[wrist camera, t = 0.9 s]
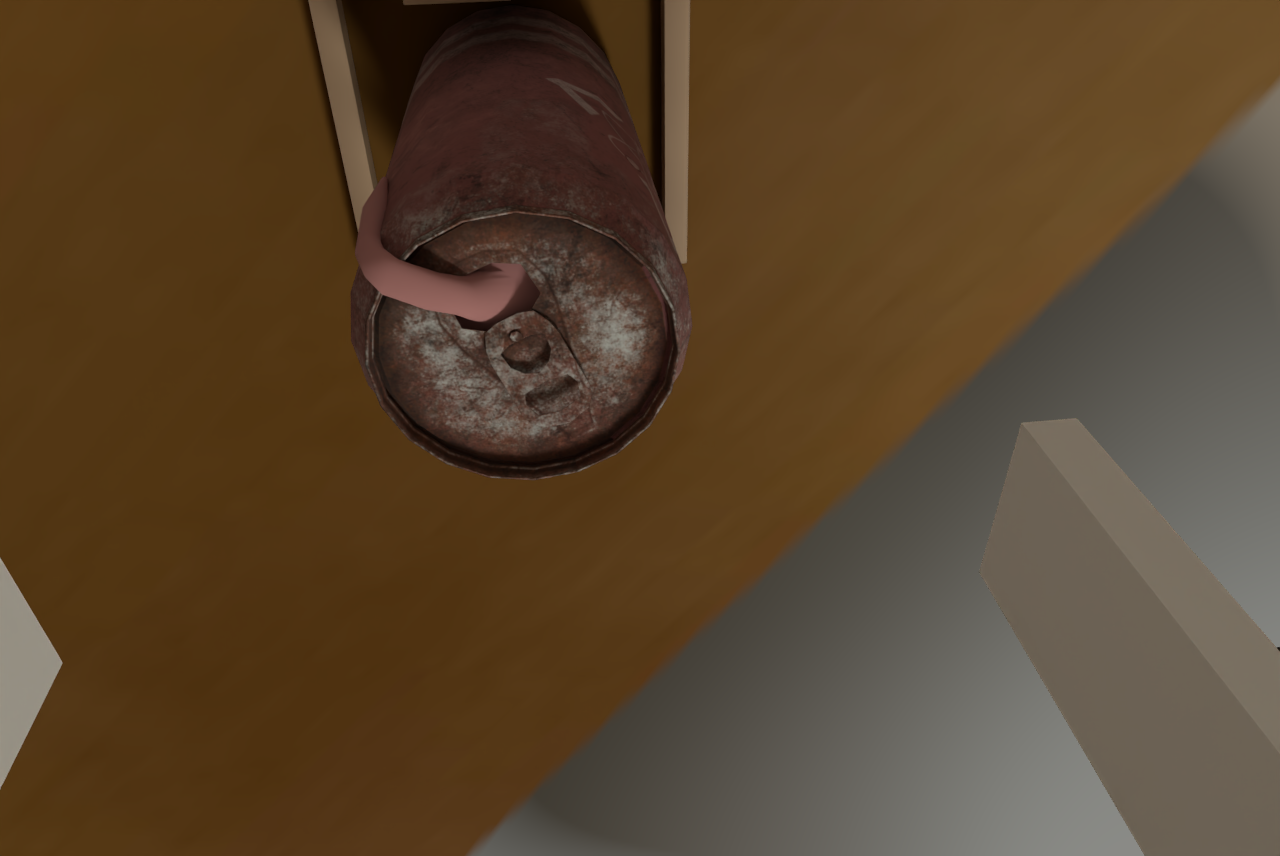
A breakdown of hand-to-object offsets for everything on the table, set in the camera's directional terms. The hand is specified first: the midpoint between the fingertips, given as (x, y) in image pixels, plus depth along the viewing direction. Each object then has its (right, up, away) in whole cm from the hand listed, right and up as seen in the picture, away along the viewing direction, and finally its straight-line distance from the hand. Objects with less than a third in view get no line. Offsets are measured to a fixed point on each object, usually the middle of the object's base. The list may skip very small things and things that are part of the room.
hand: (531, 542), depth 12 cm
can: (-2, +11, +15) cm, 19 cm away
